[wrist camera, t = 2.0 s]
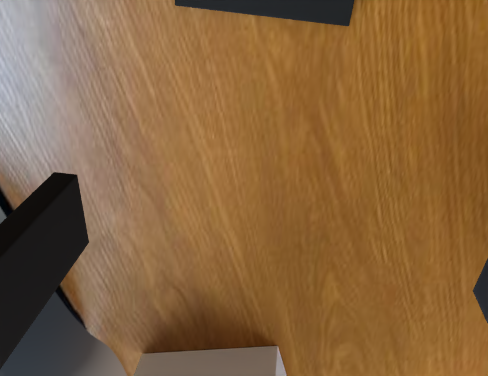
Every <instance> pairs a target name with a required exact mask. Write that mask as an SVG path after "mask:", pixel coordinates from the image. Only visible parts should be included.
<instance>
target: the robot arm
mask: <svg viewBox="0 0 488 376" xmlns="http://www.w3.org/2000/svg"><path fill="white" fill-rule="evenodd" d="M88 243H89V240H88V234H87V229H86V223H85V217H84V211H83V206H82V200H81V194H80V189H79V183H78V177H77V175H74V174H66V173H57V172H54V173H53V174H52V175H51V176H50V177H49V178H48V179H47V180H46V181H45V182H43V183H42V184H41V185H40V186H39V187H38V188H37V189H36V190H35V191H34V192H33V193H32V194H31V195H30V196H29V197H28V198H27V199H26V200H25V201H24V202H23V203H22V204H21V205H19V206H18V207H17V208H16V209H15V210H14V211H13V212H12V213H11V214H10V215H9V216H8V217H7V218H6V219H5V220H4V221H3V222H2V223H1V224H0V369H1V367H2V366H3V364H4V363H5V362H6V360H7V359H8V357H9V356H10V354H11V353H12V352H13V350H14V349H15V347H16V346H17V344H18V343H19V342H20V340H21V338H22V337H23V336H24V334H25V333H26V331H27V330H28V329H29V327H30V325H31V324H32V323H33V321H34V320H35V319H36V317H37V316H38V314H39V313H40V312H41V310H42V309H43V307H44V306H45V304H46V303H47V302H48V300H49V299H50V297H51V296H52V294H53V293H54V292H55V290H56V289H57V287H58V286H59V284H60V283H61V282H62V280H63V279H64V277H65V276H66V274H67V273H68V272H69V270H70V269H71V267H72V266H73V264H74V263H75V262H76V260H77V259H78V257H79V256H80V254H81V253H82V252H83V250H84V249H85V247H86V246H87V244H88ZM473 292H474V295H475V297H476V299H477V301H478V303H479V306H480V308H481V310H482V312H483V314H484V317H485V319H486V321H487V323H488V259H487V261H486V263H485V265H484V268H483V270H482V272H481V274H480V276H479V278H478V281H477V283H476V285H475V287H474V289H473Z"/></svg>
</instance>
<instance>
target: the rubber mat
mask: <svg viewBox="0 0 488 376" xmlns="http://www.w3.org/2000/svg"><path fill="white" fill-rule="evenodd" d="M353 4H354V0H175V5H176V6H184V7H192V8H201V9H209V10H217V11H226V12H234V13H242V14H251V15H259V16H267V17H276V18H284V19H292V20H301V21H309V22H318V23H326V24H334V25H343V26H349V23H350V18H351V14H352V9H353Z"/></svg>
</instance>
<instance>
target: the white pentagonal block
mask: <svg viewBox="0 0 488 376" xmlns="http://www.w3.org/2000/svg"><path fill="white" fill-rule="evenodd" d="M134 376H287V375H286V371H285V368H284V365H283V362H282V358H281V355H280V352H279V348H278V346H266V347H248V348H231V349H214V350H197V351H180V352H163V353H146V354H142V355H141V358H140V361H139V363H138V366H137V368H136V371H135V373H134Z"/></svg>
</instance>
